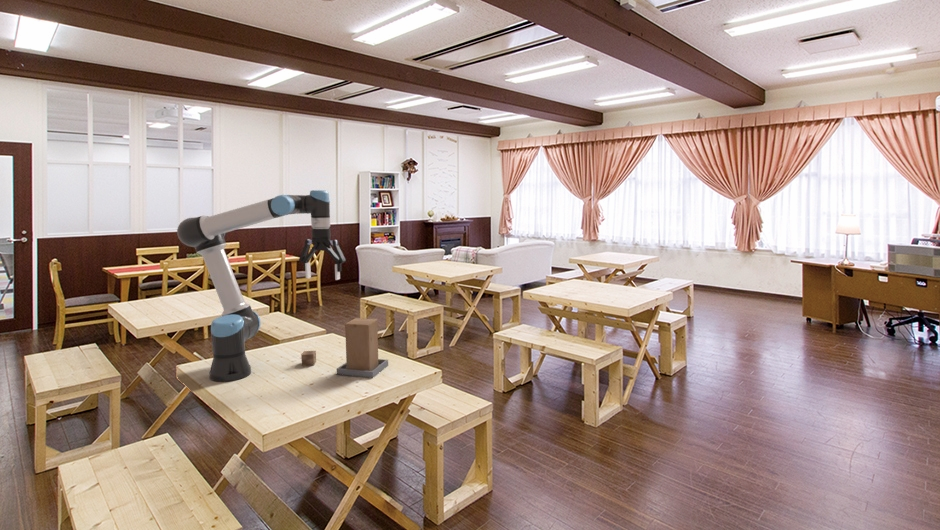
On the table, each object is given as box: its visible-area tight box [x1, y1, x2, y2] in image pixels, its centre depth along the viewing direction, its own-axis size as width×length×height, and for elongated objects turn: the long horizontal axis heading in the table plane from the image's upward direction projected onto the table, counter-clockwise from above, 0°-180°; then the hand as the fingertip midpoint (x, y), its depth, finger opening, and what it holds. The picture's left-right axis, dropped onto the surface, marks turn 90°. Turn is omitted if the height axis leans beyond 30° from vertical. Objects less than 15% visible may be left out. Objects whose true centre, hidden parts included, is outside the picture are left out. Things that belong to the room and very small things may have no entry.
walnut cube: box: [300, 350, 317, 367], centre depth 220 cm, size 5×5×5 cm
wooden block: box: [344, 317, 379, 371], centre depth 211 cm, size 10×10×20 cm
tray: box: [336, 358, 389, 379], centre depth 212 cm, size 16×16×2 cm
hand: (322, 278), depth 216 cm, fingers open, 13 cm apart
